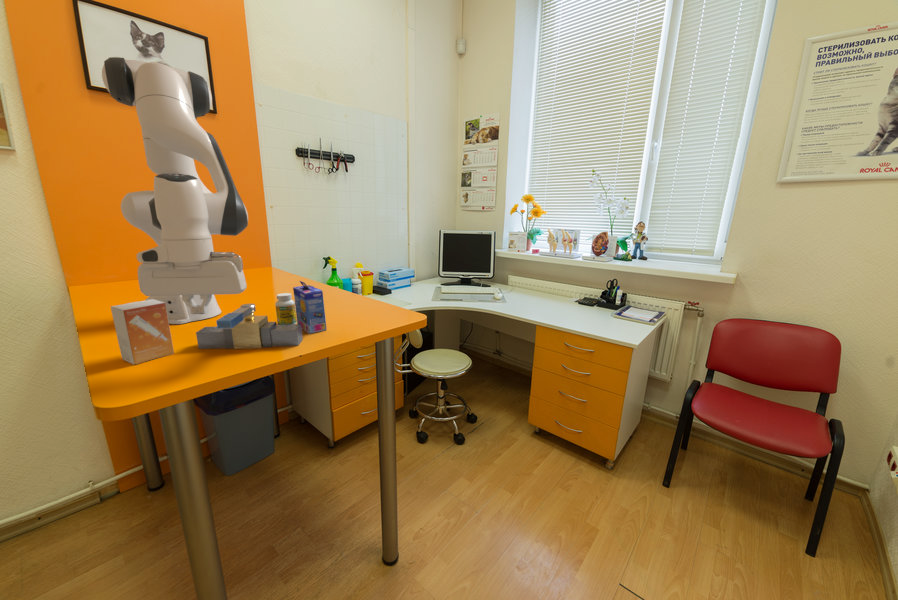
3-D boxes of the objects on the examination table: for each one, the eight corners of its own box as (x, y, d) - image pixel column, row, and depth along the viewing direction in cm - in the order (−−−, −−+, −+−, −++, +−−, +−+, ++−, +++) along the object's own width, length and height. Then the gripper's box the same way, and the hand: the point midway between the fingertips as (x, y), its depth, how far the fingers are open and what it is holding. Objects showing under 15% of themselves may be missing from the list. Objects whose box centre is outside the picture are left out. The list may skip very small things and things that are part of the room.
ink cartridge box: (295, 325, 108) (291, 279, 104) (313, 322, 111) (310, 277, 108) (308, 334, 101) (304, 284, 97) (327, 330, 104) (323, 282, 101)
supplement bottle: (294, 320, 112) (292, 291, 110) (298, 325, 108) (295, 295, 106) (276, 323, 109) (273, 293, 107) (279, 328, 105) (275, 297, 103)
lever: (244, 310, 92) (243, 303, 91) (257, 309, 92) (256, 303, 92) (217, 328, 78) (215, 320, 77) (232, 328, 78) (231, 320, 78)
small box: (134, 365, 79) (122, 310, 76) (121, 359, 82) (109, 305, 79) (175, 353, 86) (165, 301, 83) (162, 348, 89) (152, 298, 86)
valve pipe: (196, 350, 88) (190, 317, 86) (209, 341, 94) (204, 310, 92) (297, 347, 91) (294, 315, 89) (303, 338, 97) (301, 308, 95)
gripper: (246, 250, 81) (254, 308, 84) (148, 251, 78) (160, 311, 81) (234, 253, 75) (243, 316, 78) (127, 254, 72) (140, 319, 75)
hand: (200, 313), depth 80 cm, fingers closed
